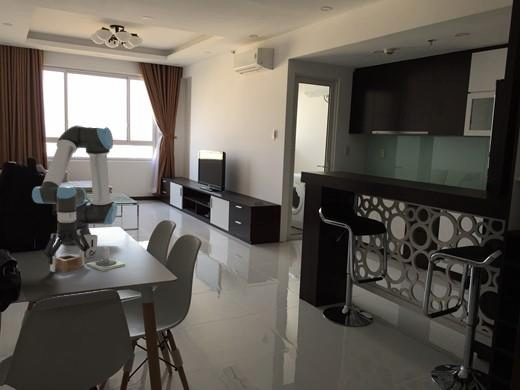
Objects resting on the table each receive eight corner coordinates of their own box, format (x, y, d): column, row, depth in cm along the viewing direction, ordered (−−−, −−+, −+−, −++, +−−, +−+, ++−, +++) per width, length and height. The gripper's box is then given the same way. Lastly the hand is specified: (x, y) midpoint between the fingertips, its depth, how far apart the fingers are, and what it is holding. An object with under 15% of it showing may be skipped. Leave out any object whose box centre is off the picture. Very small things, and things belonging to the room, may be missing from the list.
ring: (54, 268, 189) (54, 257, 189) (71, 264, 196) (71, 254, 195) (63, 272, 184) (63, 261, 184) (81, 268, 191) (81, 257, 190)
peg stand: (86, 265, 195) (86, 247, 194) (109, 260, 205) (109, 243, 204) (102, 271, 188) (102, 252, 187) (125, 265, 198) (125, 247, 197)
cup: (91, 259, 205) (91, 238, 204) (76, 257, 207) (76, 237, 206) (100, 254, 213) (100, 235, 212) (86, 253, 215) (86, 233, 214)
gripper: (42, 226, 175) (43, 276, 178) (97, 218, 195) (97, 264, 198) (33, 223, 179) (35, 272, 182) (88, 216, 199) (88, 260, 202)
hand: (67, 268), depth 190 cm, fingers open, 13 cm apart
